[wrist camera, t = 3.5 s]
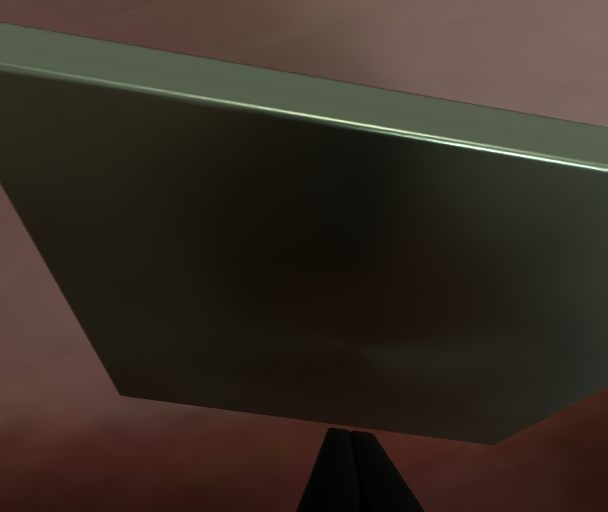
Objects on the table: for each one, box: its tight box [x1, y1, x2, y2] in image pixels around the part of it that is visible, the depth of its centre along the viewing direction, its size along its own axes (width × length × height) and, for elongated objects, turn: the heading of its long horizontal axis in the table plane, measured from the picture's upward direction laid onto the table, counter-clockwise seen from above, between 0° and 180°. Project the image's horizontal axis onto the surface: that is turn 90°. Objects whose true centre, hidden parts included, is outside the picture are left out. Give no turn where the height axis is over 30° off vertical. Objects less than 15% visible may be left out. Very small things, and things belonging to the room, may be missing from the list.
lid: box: [0, 22, 608, 445], centre depth 10 cm, size 11×12×1 cm
